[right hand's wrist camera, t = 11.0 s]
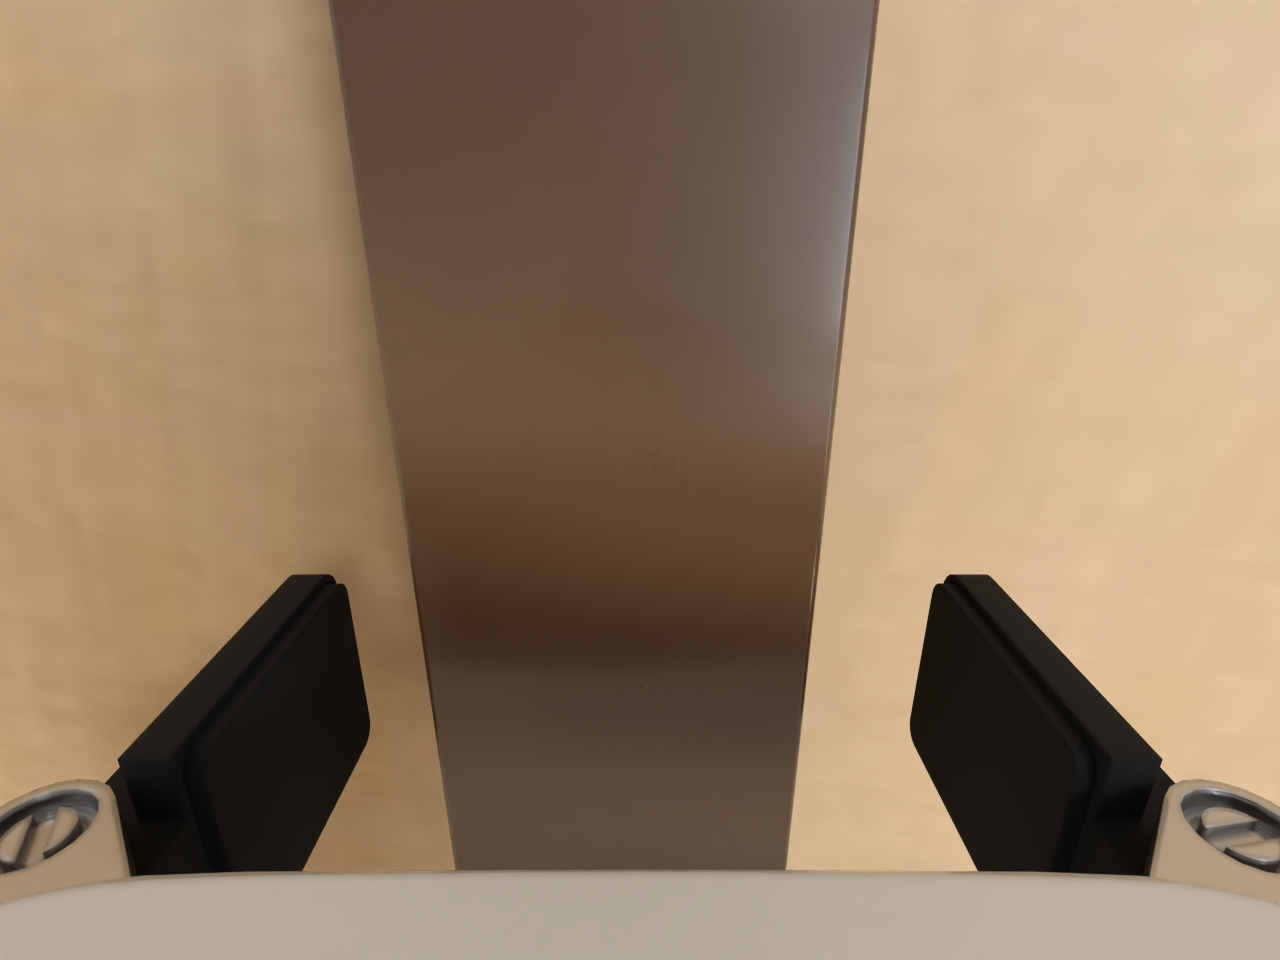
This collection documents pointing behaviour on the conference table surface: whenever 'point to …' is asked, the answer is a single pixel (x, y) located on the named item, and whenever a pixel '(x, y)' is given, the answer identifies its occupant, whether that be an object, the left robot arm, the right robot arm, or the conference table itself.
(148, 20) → the conference table surface
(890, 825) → the conference table surface
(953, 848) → the conference table surface
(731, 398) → the bar
